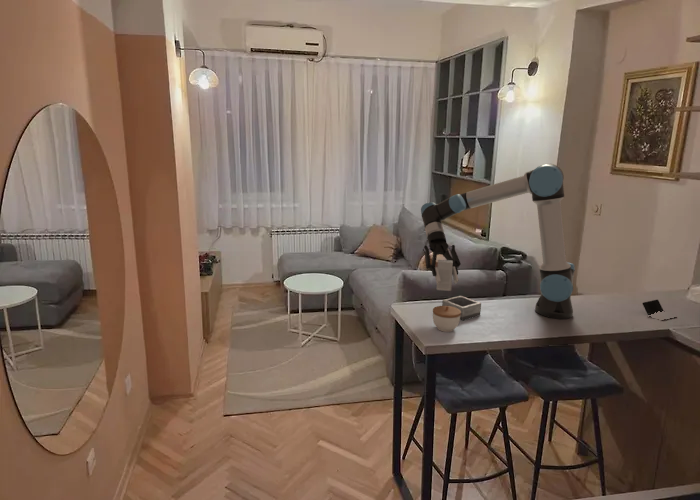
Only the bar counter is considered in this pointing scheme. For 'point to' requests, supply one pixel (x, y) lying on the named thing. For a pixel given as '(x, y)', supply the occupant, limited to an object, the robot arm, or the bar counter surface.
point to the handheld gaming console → (652, 307)
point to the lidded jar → (446, 318)
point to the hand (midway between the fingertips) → (447, 282)
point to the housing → (464, 306)
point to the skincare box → (445, 274)
